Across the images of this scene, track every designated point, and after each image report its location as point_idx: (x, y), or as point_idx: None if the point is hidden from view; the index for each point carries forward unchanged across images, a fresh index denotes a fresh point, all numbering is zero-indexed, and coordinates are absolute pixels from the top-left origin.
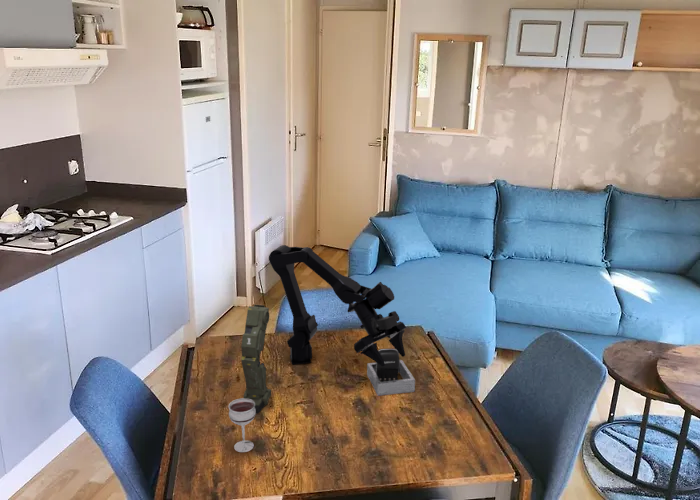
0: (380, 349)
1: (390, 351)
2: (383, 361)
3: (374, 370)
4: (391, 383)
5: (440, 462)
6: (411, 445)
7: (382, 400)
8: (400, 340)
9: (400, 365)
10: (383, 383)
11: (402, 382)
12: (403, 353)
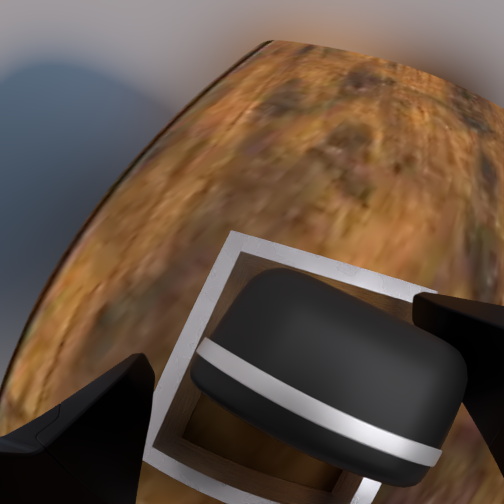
0: (419, 462)
1: (337, 341)
2: (436, 302)
3: (315, 498)
4: (364, 272)
5: (367, 67)
6: (401, 100)
7: (407, 273)
8: (38, 433)
9: (165, 432)
10: (409, 284)
11: (301, 253)
12: (136, 361)
